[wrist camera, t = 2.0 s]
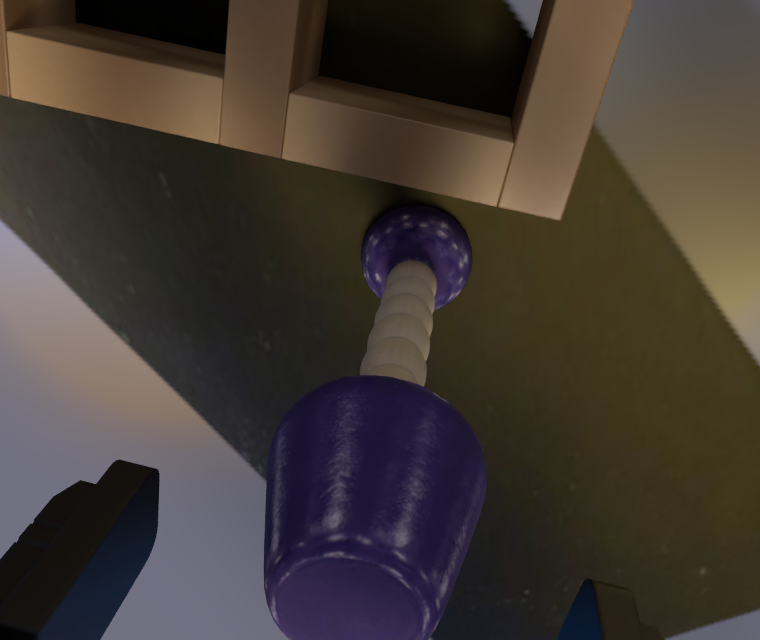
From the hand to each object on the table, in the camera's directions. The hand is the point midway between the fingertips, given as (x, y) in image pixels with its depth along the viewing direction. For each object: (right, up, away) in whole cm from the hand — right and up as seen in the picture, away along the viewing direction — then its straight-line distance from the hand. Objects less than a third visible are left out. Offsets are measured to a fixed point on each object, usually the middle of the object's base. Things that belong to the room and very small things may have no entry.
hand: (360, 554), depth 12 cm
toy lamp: (+2, +7, +14) cm, 15 cm away
